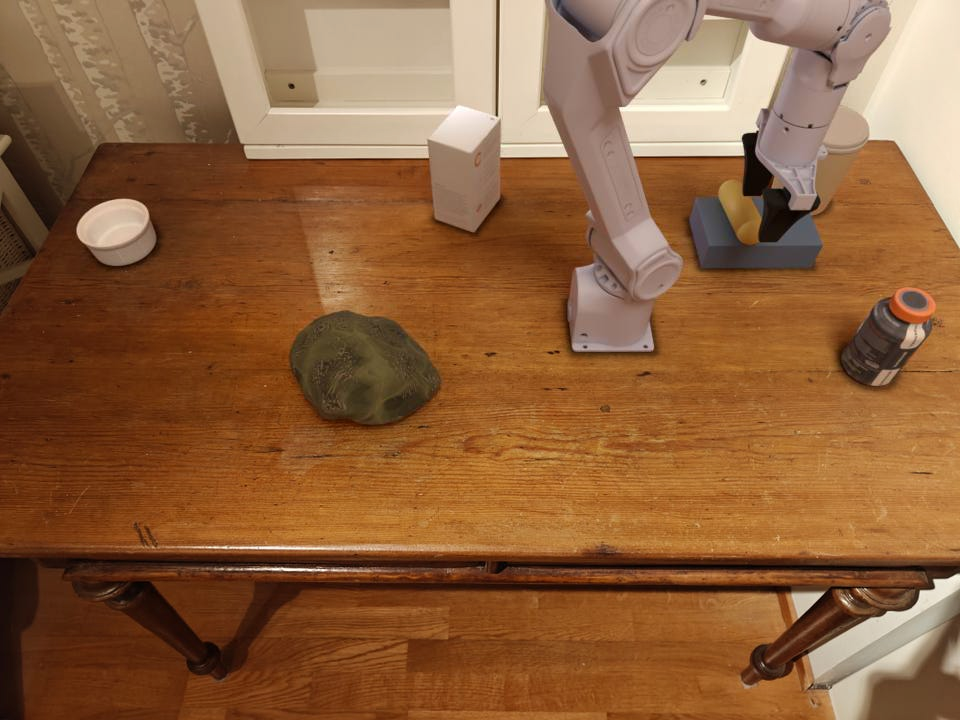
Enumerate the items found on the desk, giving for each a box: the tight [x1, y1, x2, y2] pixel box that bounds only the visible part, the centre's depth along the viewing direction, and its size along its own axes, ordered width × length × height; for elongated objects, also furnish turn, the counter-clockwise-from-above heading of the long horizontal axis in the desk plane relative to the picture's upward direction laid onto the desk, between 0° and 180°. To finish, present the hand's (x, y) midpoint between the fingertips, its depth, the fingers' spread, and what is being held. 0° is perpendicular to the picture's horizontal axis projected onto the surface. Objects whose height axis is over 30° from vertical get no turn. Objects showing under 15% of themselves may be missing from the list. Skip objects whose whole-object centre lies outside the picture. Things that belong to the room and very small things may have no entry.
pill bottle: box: [840, 286, 937, 387], centre depth 75 cm, size 6×6×11 cm
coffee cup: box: [770, 104, 871, 217], centre depth 92 cm, size 9×9×12 cm
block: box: [688, 196, 824, 269], centre depth 90 cm, size 14×9×4 cm, turn 90°
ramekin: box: [75, 198, 157, 267], centre depth 91 cm, size 9×9×4 cm
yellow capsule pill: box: [717, 179, 762, 245], centre depth 87 cm, size 10×3×3 cm
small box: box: [426, 105, 502, 233], centre depth 91 cm, size 8×6×13 cm
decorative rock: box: [288, 309, 442, 426], centre depth 75 cm, size 15×16×10 cm
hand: (759, 216), depth 80 cm, fingers open, 7 cm apart
